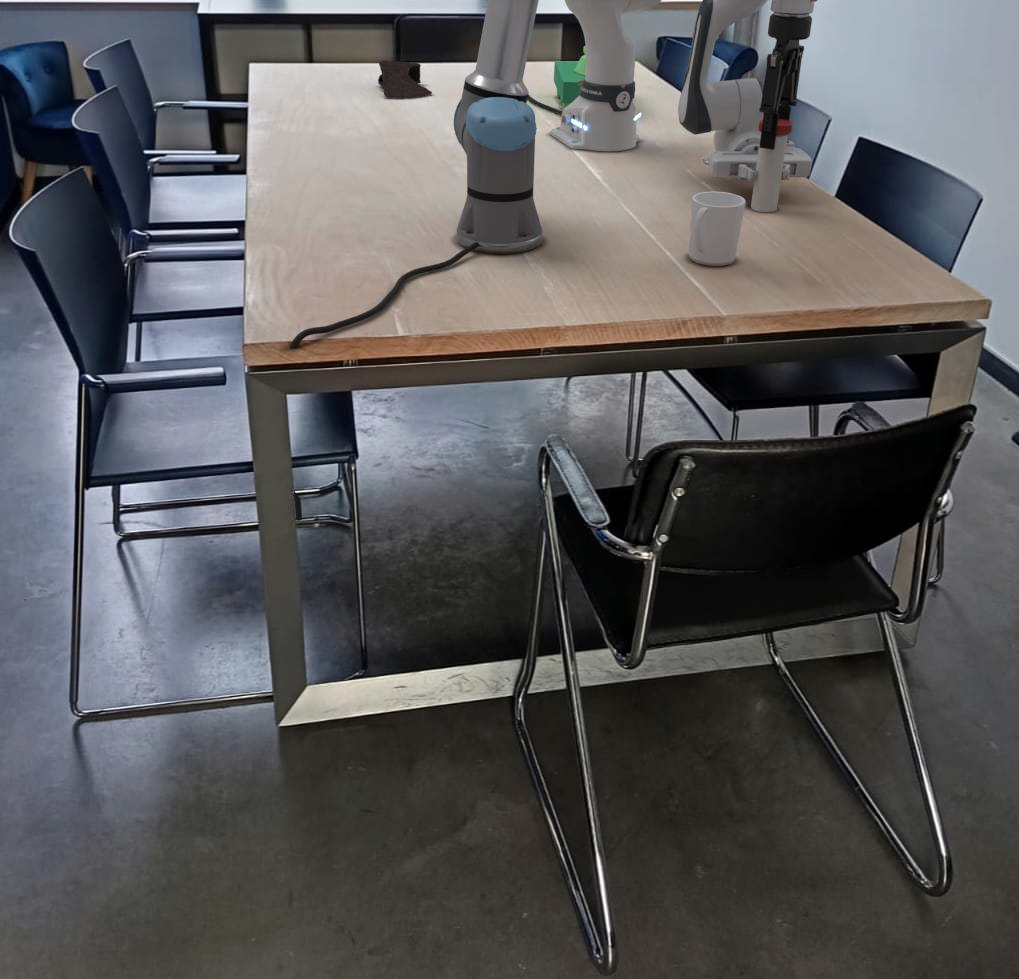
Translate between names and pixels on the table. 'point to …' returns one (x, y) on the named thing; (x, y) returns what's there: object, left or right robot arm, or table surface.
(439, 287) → the table surface
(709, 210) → the mug
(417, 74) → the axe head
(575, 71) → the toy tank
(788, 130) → the lid
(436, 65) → the table surface
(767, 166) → the jar
